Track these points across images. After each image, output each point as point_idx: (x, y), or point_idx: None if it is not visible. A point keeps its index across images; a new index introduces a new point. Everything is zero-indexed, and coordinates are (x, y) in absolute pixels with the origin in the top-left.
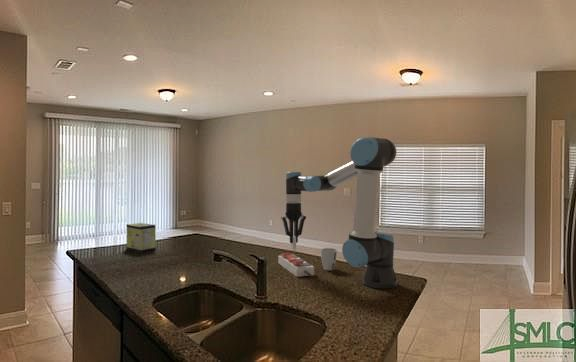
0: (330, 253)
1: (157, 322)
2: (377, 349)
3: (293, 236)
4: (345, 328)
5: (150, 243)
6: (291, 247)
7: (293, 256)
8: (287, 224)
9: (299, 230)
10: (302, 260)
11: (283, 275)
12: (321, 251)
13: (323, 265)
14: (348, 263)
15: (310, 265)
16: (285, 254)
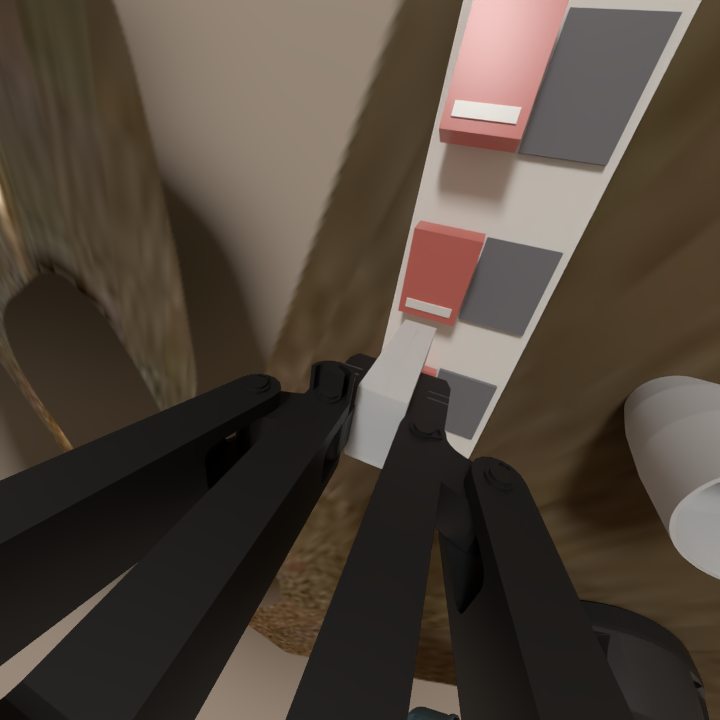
0: (691, 550)
1: (59, 437)
2: (296, 652)
3: (371, 427)
4: (293, 620)
5: None
6: (401, 326)
7: (460, 275)
8: (26, 644)
9: (511, 561)
10: (521, 317)
11: (335, 349)
12: (682, 483)
13: (629, 415)
14: (411, 710)
15: (467, 436)
16: (455, 136)
